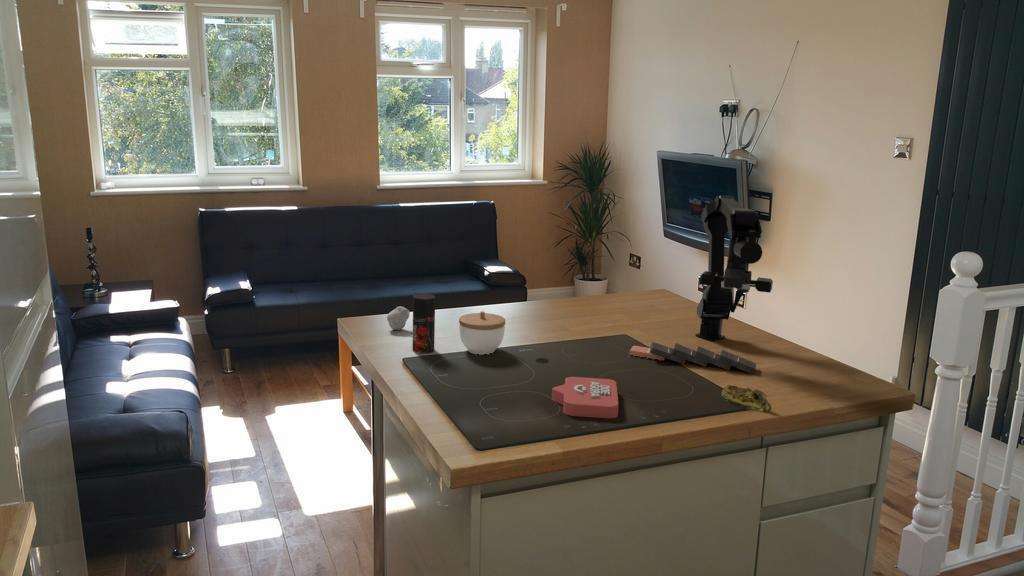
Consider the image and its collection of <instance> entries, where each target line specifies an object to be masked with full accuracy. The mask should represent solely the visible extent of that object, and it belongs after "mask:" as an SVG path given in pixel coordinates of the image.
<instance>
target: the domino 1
mask: <svg viewBox="0 0 1024 576" xmlns="http://www.w3.org/2000/svg"><path fill="white" fill-rule="evenodd" d="M630 355H633V356H632V357H634V356H640V357H639V358H641V357H647V358H646V359H648V358H651V359H650V360H655V359H658V360H657V361H662V360H663V362H664V361H665V360H666V358H664V357H661V356H658V355H655V354H652V353H650V347H645V346H640V345H632V347H631V348H630V350H629V356H630Z"/></svg>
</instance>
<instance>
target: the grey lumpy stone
mask: <svg viewBox="0 0 1024 576" xmlns="http://www.w3.org/2000/svg"><path fill="white" fill-rule="evenodd" d="M409 317H410V310H409V309H408V308H406V307H404V306H397V307H395V309H393V310H392V311H389V313H388V314H387V316H386V320H387V322H388V325H389V328H391V330H394V331H401V330H403V329H404V328H405V326H406V324H407V323H406V322H407V320H409Z"/></svg>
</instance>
